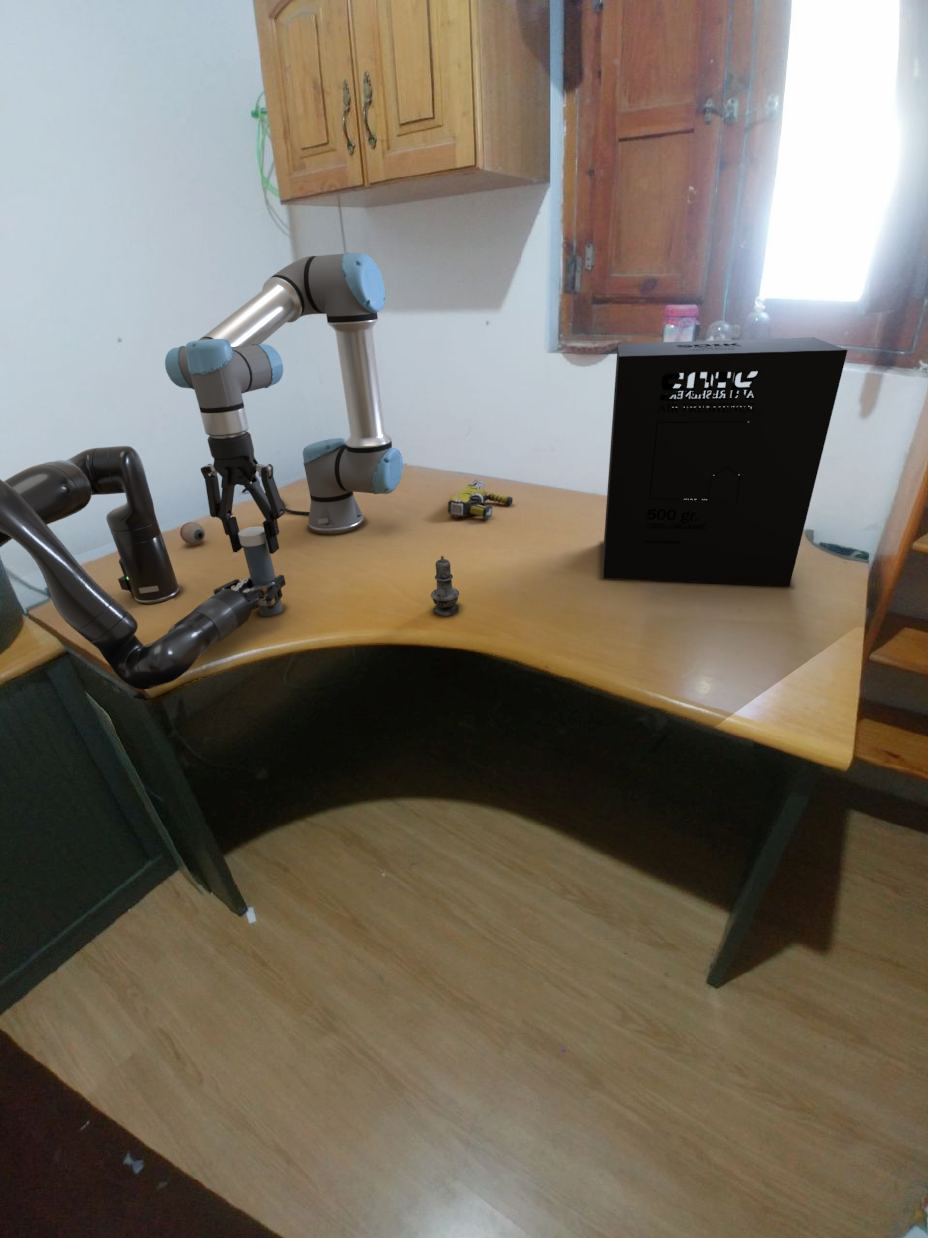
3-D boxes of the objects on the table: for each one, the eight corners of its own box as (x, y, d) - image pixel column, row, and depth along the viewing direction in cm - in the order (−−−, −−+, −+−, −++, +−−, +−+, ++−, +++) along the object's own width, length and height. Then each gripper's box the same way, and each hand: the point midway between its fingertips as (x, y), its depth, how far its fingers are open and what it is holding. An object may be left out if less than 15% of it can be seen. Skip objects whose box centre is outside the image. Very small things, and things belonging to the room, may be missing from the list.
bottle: (268, 604, 130) (249, 528, 121) (287, 606, 129) (269, 529, 120) (254, 614, 126) (234, 536, 118) (274, 617, 125) (255, 539, 116)
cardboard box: (767, 547, 142) (813, 337, 119) (789, 586, 125) (847, 349, 102) (603, 542, 149) (617, 343, 127) (603, 578, 132) (618, 356, 110)
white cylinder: (251, 535, 123) (249, 525, 121) (273, 537, 121) (271, 527, 120) (234, 545, 118) (232, 535, 117) (257, 547, 117) (255, 537, 116)
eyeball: (193, 549, 159) (187, 528, 156) (179, 545, 162) (172, 524, 159) (212, 541, 163) (206, 520, 160) (198, 538, 166) (191, 517, 163)
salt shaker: (457, 617, 121) (453, 562, 115) (428, 615, 122) (423, 561, 116) (463, 603, 126) (459, 550, 120) (435, 601, 127) (431, 549, 121)
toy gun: (520, 484, 182) (474, 477, 186) (498, 508, 162) (446, 499, 166) (519, 500, 184) (473, 492, 188) (497, 524, 164) (445, 516, 168)
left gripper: (246, 603, 109) (298, 564, 122) (182, 595, 113) (239, 558, 127) (255, 639, 112) (304, 597, 126) (193, 629, 117) (247, 589, 130)
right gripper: (288, 428, 110) (310, 544, 122) (190, 429, 114) (221, 541, 126) (269, 438, 104) (294, 559, 115) (166, 438, 108) (200, 556, 119)
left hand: (271, 577), depth 126 cm, fingers closed on bottle, 5 cm apart
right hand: (256, 550), depth 120 cm, fingers open, 7 cm apart
